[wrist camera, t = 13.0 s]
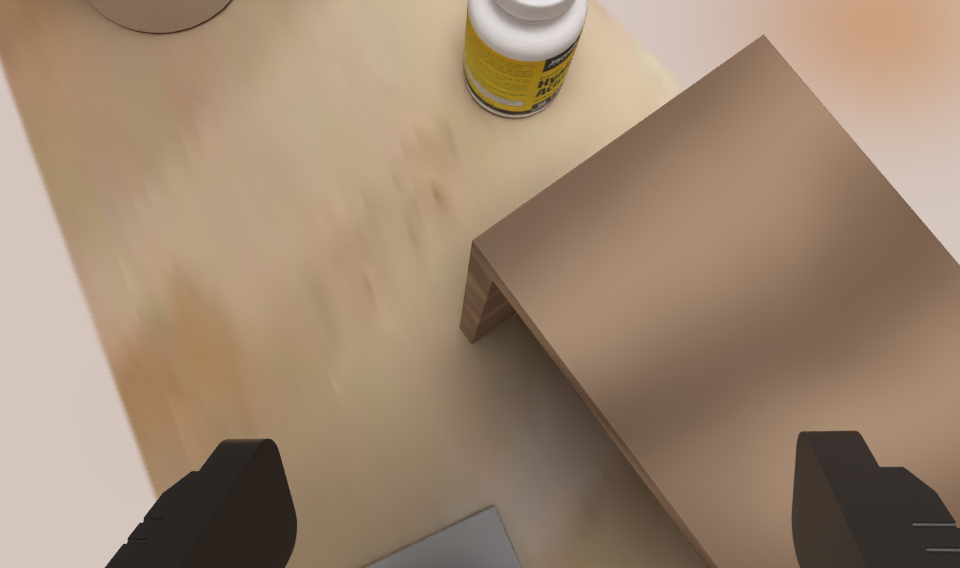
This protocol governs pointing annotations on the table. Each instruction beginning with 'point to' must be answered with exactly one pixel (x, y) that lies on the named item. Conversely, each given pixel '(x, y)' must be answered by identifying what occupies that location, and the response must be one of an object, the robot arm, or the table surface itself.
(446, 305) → the table surface
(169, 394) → the table surface
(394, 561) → the grey mat
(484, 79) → the supplement bottle
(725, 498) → the walnut box
